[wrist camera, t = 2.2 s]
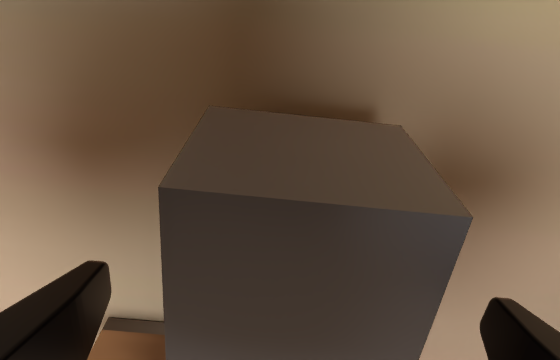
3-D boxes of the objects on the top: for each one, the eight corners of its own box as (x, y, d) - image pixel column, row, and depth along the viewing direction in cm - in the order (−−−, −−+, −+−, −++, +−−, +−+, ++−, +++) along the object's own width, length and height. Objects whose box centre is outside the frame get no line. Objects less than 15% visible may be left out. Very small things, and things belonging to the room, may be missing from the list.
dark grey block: (385, 106, 13) (472, 217, 7) (352, 249, 16) (394, 422, 10) (219, 88, 13) (158, 186, 7) (215, 236, 16) (167, 404, 10)
